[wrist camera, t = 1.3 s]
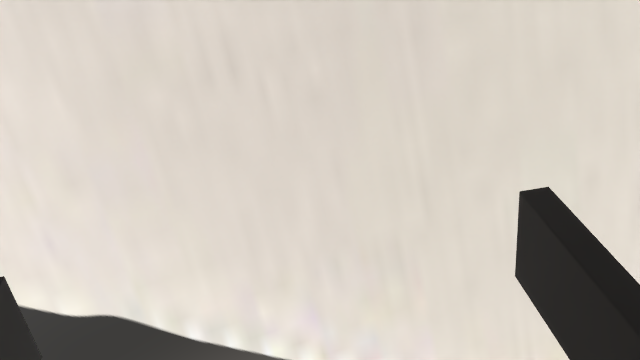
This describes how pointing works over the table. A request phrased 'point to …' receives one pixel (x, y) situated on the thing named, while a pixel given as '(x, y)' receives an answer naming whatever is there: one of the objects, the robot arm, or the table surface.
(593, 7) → the table surface
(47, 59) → the table surface
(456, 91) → the table surface
